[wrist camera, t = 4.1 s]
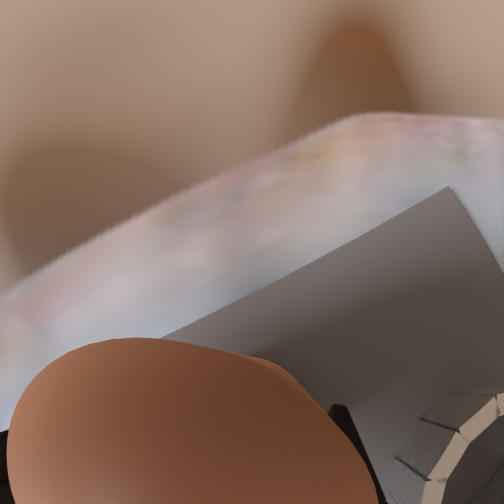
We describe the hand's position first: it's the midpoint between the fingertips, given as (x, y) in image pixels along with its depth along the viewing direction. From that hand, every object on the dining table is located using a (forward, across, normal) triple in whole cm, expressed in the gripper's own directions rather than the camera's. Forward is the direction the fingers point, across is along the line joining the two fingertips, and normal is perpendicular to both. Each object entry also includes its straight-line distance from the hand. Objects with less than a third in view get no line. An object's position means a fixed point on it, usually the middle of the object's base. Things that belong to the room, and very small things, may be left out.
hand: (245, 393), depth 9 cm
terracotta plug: (+3, 0, +5) cm, 6 cm away
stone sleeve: (+2, -12, +6) cm, 14 cm away
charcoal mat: (+2, -7, +7) cm, 10 cm away
